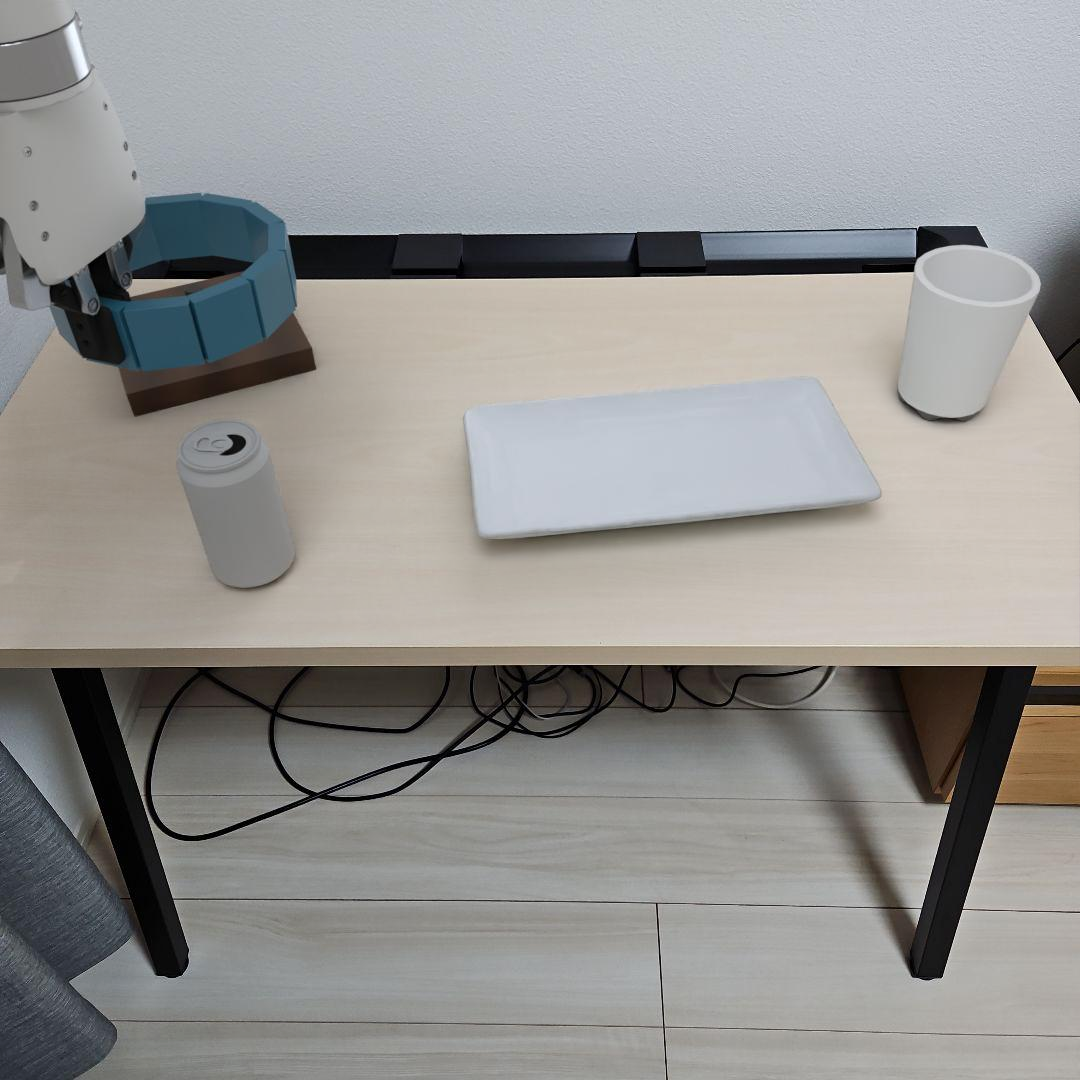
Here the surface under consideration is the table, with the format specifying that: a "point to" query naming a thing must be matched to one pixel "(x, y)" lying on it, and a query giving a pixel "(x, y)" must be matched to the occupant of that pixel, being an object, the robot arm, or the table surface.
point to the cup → (962, 327)
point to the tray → (660, 458)
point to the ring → (218, 311)
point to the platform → (218, 363)
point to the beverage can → (235, 502)
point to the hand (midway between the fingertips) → (113, 349)
